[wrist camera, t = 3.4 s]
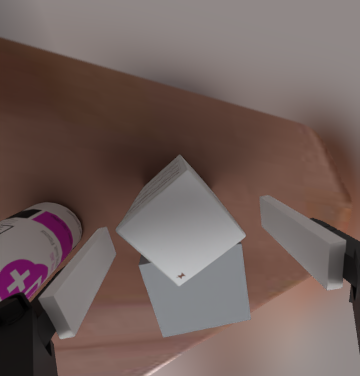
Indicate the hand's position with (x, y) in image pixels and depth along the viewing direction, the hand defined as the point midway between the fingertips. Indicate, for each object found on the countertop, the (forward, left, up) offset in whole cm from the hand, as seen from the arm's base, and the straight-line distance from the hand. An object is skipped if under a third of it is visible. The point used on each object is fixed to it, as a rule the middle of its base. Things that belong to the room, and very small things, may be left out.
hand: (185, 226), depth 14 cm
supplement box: (0, 0, -11) cm, 11 cm away
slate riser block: (+15, 0, -11) cm, 19 cm away
